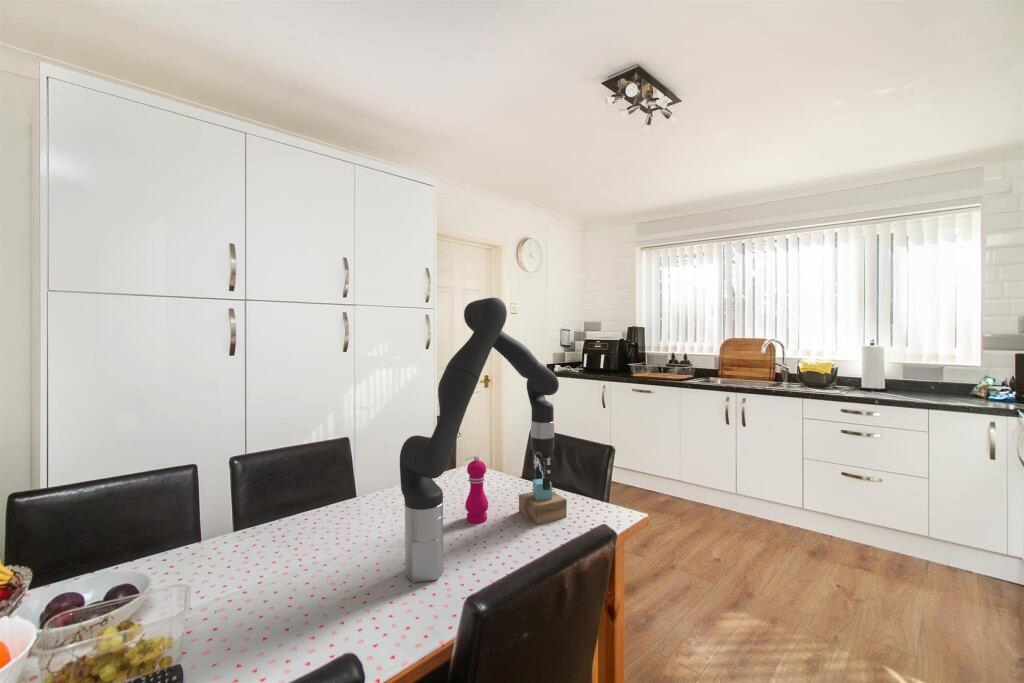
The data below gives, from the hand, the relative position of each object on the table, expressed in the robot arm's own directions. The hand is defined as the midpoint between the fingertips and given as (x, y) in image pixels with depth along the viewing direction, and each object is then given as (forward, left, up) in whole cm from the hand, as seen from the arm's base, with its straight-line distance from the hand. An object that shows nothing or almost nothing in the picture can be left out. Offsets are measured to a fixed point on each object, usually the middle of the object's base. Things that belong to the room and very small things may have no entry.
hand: (542, 485), depth 148 cm
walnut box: (0, 0, -10) cm, 10 cm away
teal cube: (0, 0, -4) cm, 4 cm away
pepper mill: (+1, +21, -10) cm, 23 cm away
